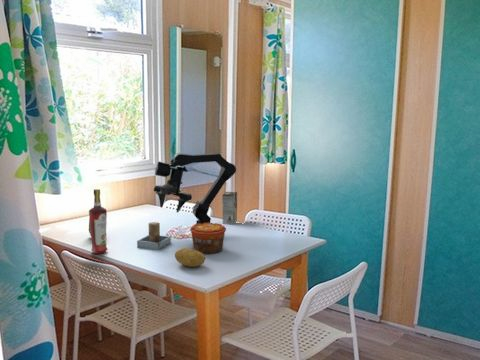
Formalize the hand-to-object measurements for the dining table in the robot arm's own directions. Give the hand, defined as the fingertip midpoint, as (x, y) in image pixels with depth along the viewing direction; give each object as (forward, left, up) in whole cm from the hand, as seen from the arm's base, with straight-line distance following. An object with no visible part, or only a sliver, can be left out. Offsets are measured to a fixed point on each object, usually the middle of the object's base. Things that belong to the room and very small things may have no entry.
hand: (169, 209), depth 239 cm
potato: (-28, +37, -13) cm, 48 cm away
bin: (-1, +17, -13) cm, 22 cm away
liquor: (+16, +35, -13) cm, 41 cm away
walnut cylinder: (-1, +17, -12) cm, 21 cm away
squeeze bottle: (+31, +15, -13) cm, 37 cm away
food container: (-27, +15, -13) cm, 34 cm away
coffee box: (-19, -35, -13) cm, 42 cm away
